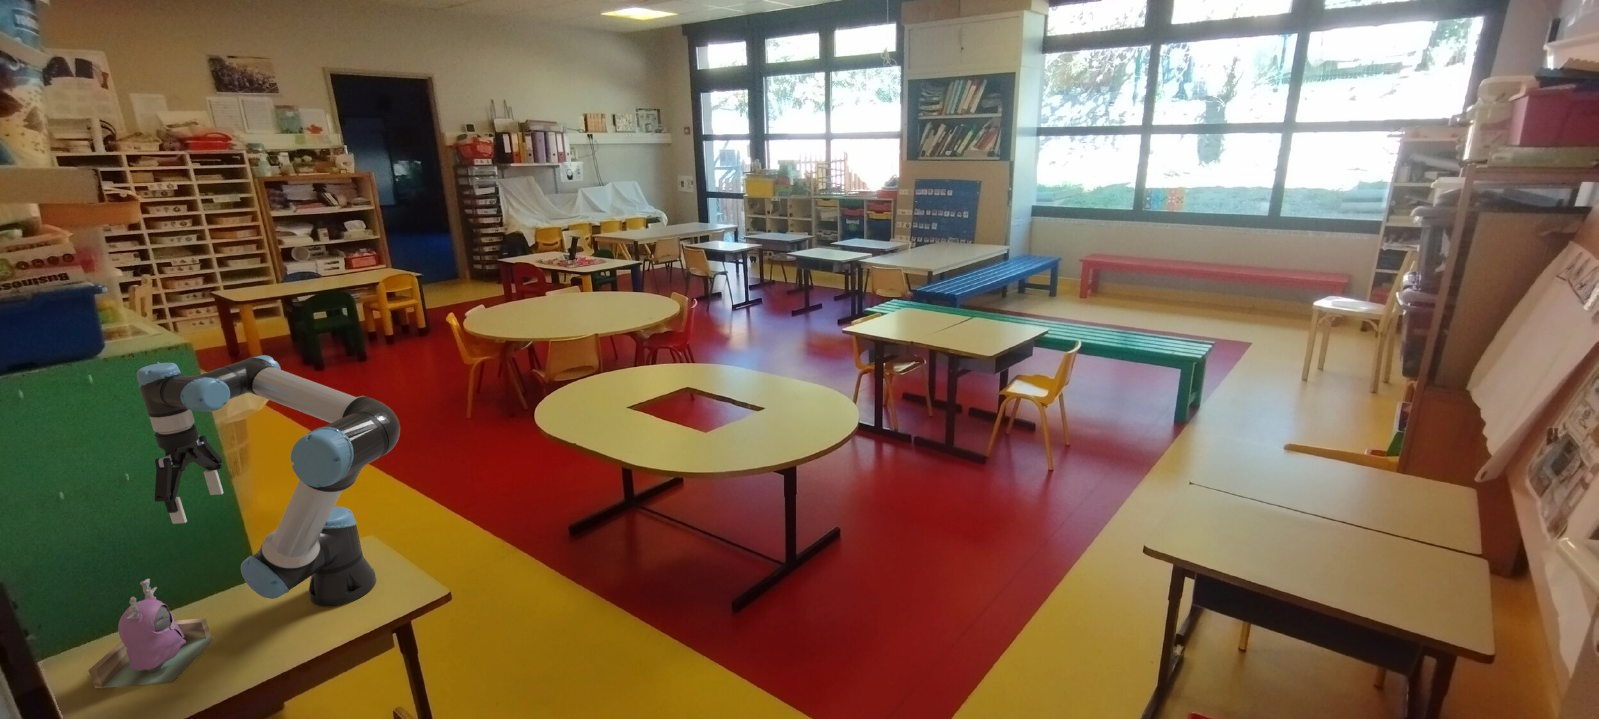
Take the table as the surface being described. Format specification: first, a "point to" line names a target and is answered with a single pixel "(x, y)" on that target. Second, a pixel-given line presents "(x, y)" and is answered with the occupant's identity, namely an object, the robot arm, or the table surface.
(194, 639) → the tray
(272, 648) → the table surface
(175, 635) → the toy character
